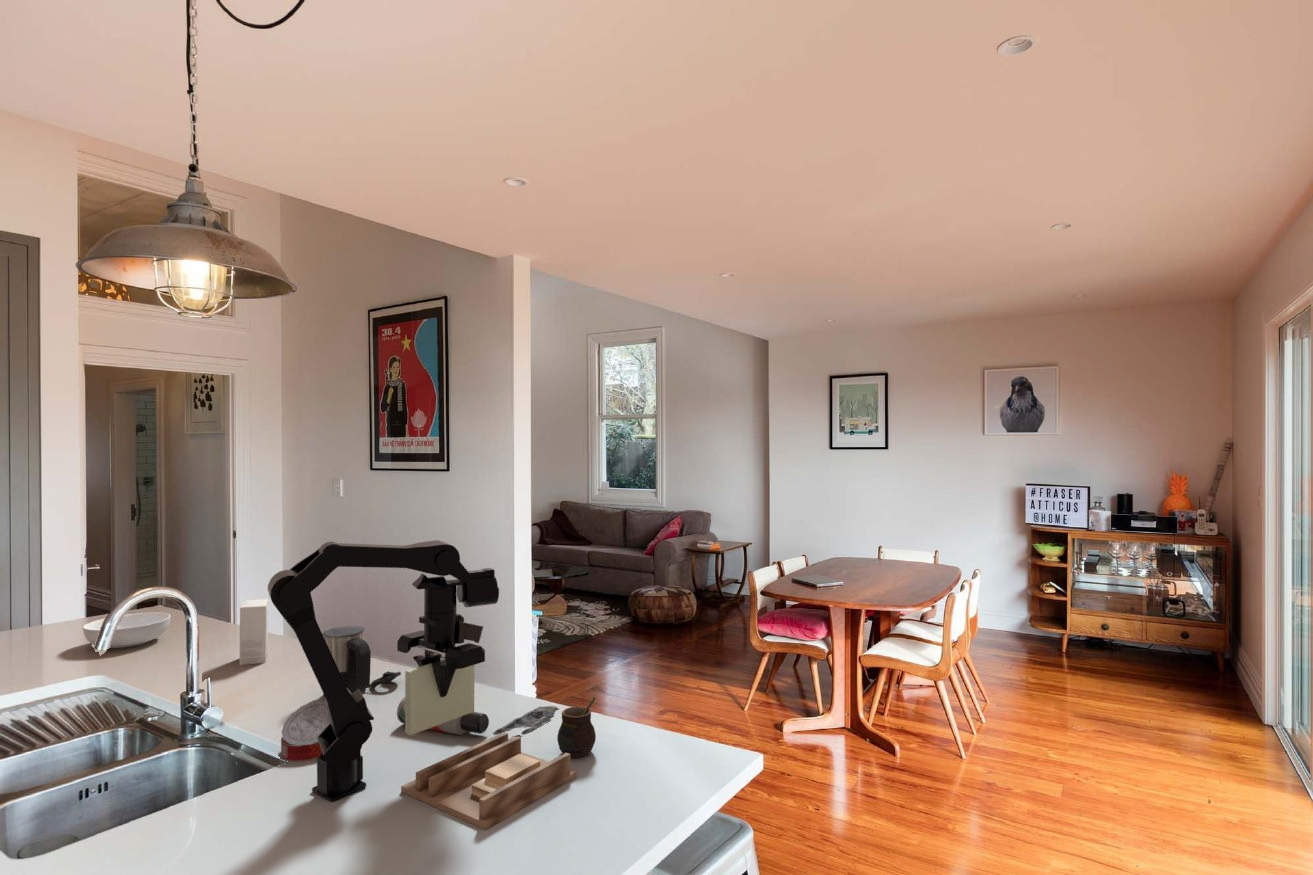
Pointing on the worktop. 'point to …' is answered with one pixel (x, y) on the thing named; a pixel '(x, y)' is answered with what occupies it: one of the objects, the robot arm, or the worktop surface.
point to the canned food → (304, 731)
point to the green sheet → (436, 698)
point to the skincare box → (253, 631)
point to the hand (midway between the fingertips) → (440, 695)
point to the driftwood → (530, 720)
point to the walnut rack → (456, 774)
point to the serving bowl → (132, 629)
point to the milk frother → (353, 657)
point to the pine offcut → (484, 788)
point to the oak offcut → (511, 769)
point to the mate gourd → (576, 731)
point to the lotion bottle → (454, 722)
